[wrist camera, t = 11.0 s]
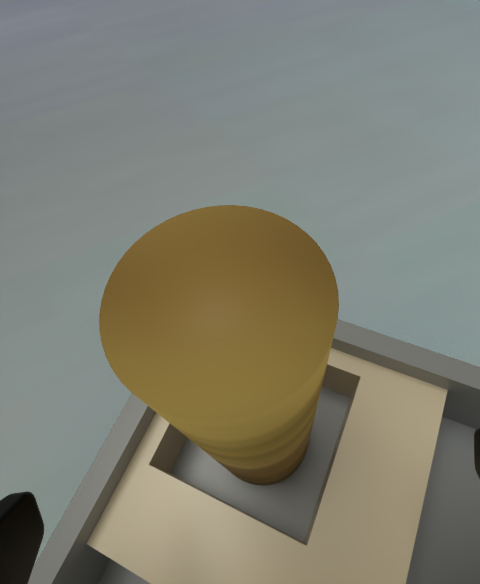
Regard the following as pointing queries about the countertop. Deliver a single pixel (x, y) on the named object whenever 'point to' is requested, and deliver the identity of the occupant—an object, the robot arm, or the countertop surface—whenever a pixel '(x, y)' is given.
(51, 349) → the countertop surface
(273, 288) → the peg
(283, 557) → the bore box
